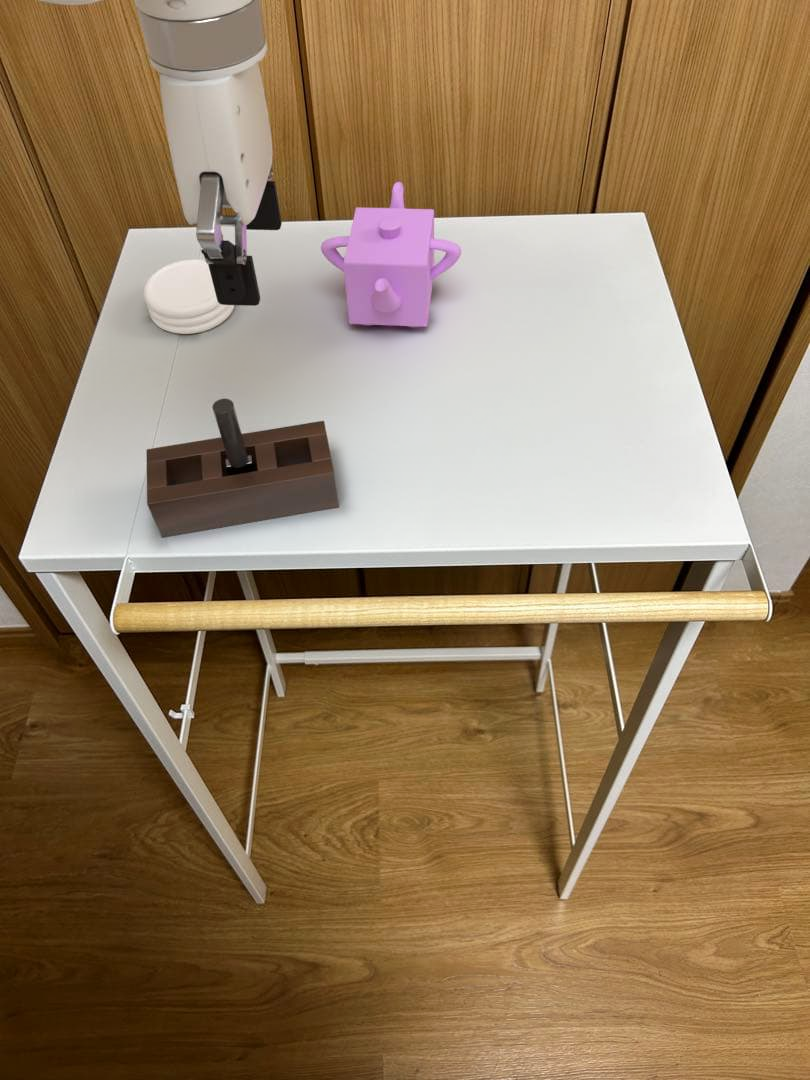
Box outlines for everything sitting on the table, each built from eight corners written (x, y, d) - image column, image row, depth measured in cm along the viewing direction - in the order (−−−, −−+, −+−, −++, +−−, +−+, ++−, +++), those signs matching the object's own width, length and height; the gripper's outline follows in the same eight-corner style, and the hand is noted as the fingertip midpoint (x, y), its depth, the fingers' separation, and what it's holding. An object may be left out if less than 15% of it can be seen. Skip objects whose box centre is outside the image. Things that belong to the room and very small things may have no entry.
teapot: (479, 316, 95) (483, 231, 86) (383, 365, 91) (378, 281, 82) (402, 253, 103) (399, 170, 94) (310, 295, 98) (298, 212, 90)
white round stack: (228, 275, 101) (222, 250, 98) (242, 325, 96) (236, 300, 93) (146, 291, 100) (138, 266, 97) (155, 344, 94) (146, 319, 91)
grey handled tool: (261, 500, 80) (237, 410, 70) (236, 504, 80) (209, 415, 70) (260, 486, 81) (236, 396, 71) (235, 490, 81) (208, 400, 71)
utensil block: (339, 507, 79) (334, 472, 75) (161, 537, 78) (146, 504, 74) (329, 455, 83) (323, 420, 79) (160, 483, 82) (146, 449, 78)
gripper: (178, -27, 57) (227, 201, 71) (105, 95, 47) (179, 334, 61) (285, -27, 57) (314, 203, 71) (235, 96, 47) (280, 337, 60)
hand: (251, 263), depth 66 cm, fingers open, 9 cm apart
